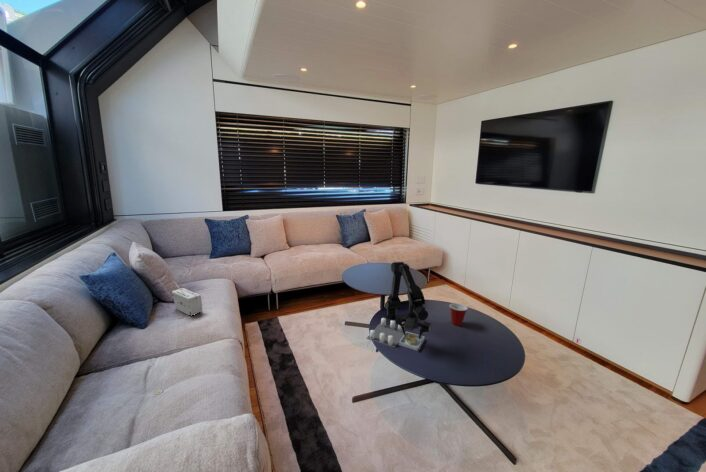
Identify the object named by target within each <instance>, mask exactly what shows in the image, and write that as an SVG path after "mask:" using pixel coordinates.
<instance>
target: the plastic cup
mask: <svg viewBox="0 0 706 472" xmlns="http://www.w3.org/2000/svg"><path fill="white" fill-rule="evenodd" d="M449 308H450V309H449V310H450V317H451V324H452V325H453V326H456V327H460V326H462V325H463V321H464V318H465V316H466V313H467V310H468V309H469V308H468V306H467V305H464V304H462V303H450V304H449Z"/></svg>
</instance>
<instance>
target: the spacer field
mask: <svg viewBox="0 0 706 472" xmlns="http://www.w3.org/2000/svg"><path fill="white" fill-rule="evenodd" d="M403 335H404V333H403V330H402V327H401V326H400V325H398V324H397V327H396V323H395V320H394V319H390V324H389V325H388V324H387V317H382V318H381V319H380V323H379V324H377V326H376V327H375V328H374V329H371V330H369V335H368V336H367V337H366V338H365V339H366V340H368V341H372V342H376V343H379V344H382V345H385V346H389V347H391V348H395V347H396V346H397V345H398V343H399V341H400V339H401V338H402V336H403ZM371 337H372V338H371ZM372 339H373V340H372Z"/></svg>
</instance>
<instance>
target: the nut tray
mask: <svg viewBox="0 0 706 472" xmlns="http://www.w3.org/2000/svg"><path fill="white" fill-rule="evenodd" d="M408 334H414V335H416V336H417V342H416V344H413V345H410V344H409V343H407V342H406V341H407V335H408ZM424 341H425V336H423V335H422V336H421V338H420V339H419V334H417V333H415V332H414V333H413V332H410V331H407V330H406V333H405V335H404V334H403V336H402V337H401V339H400V340H399V342H398V343H397V345H398V346H401V347H404V348H406V349H410V350H413V351H416V352H419V350H420V349H421V347H422V345H423V344H424Z"/></svg>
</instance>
